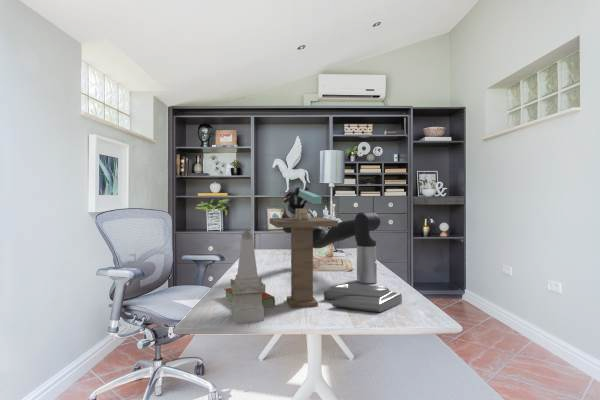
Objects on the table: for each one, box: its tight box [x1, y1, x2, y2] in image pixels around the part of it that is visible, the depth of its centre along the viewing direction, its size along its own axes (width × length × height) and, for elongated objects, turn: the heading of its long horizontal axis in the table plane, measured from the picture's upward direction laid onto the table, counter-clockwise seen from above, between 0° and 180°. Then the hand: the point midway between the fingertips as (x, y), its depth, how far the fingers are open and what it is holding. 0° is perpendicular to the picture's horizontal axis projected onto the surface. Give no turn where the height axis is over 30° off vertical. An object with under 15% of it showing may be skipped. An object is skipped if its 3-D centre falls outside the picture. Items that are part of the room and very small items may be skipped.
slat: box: [297, 188, 323, 205], centre depth 138 cm, size 28×3×2 cm, turn 14°
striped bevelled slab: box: [323, 283, 403, 313], centre depth 134 cm, size 28×5×28 cm
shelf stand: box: [269, 208, 339, 309], centre depth 132 cm, size 22×22×36 cm
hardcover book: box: [224, 287, 276, 308], centre depth 135 cm, size 12×21×4 cm, turn 33°
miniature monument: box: [230, 228, 266, 325], centre depth 117 cm, size 10×10×30 cm
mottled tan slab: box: [313, 257, 355, 273], centre depth 203 cm, size 28×6×30 cm
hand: (302, 188), depth 147 cm, fingers closed on slat, 3 cm apart
